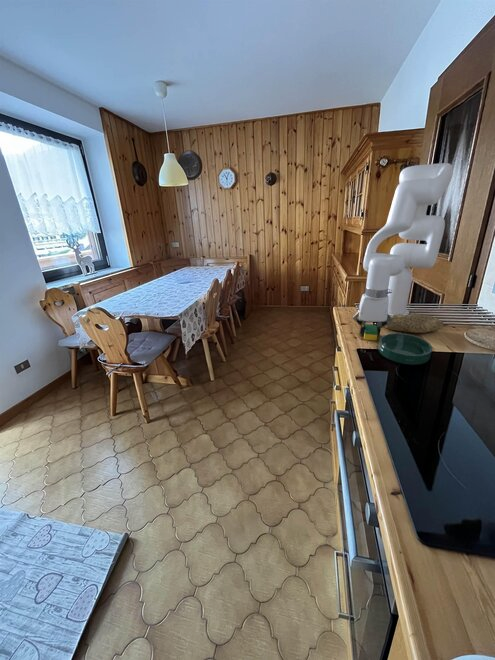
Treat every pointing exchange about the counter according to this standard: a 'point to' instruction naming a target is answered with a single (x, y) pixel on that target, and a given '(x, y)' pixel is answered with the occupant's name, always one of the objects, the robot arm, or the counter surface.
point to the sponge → (414, 323)
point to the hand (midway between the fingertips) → (369, 335)
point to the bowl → (405, 348)
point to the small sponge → (370, 332)
